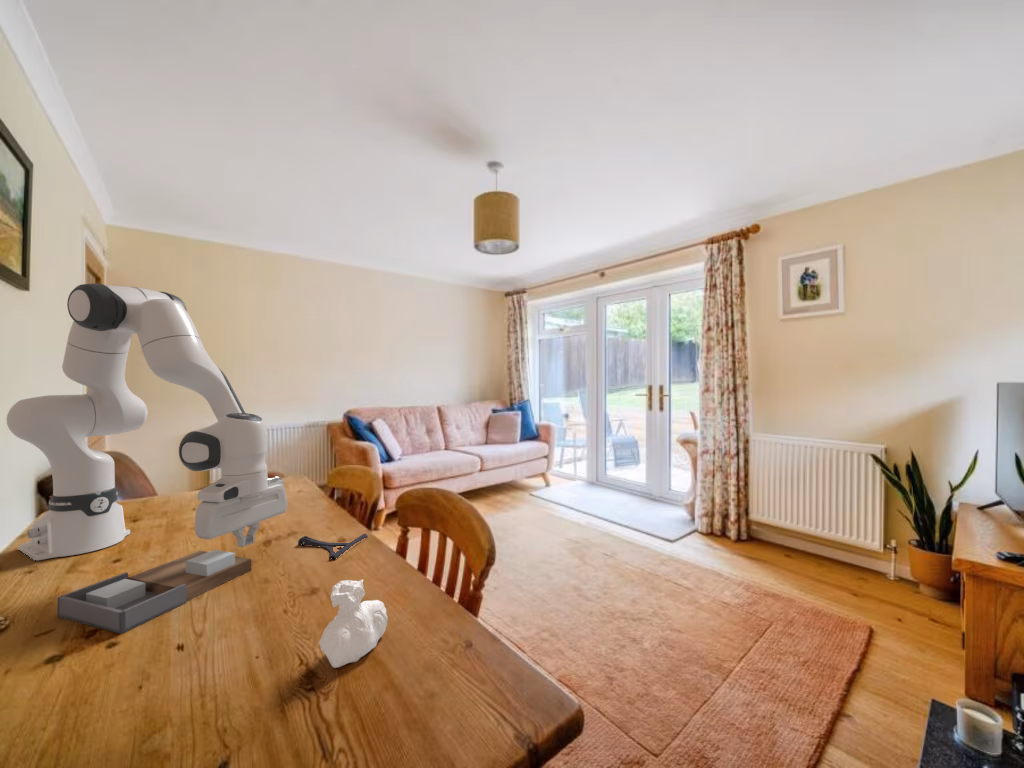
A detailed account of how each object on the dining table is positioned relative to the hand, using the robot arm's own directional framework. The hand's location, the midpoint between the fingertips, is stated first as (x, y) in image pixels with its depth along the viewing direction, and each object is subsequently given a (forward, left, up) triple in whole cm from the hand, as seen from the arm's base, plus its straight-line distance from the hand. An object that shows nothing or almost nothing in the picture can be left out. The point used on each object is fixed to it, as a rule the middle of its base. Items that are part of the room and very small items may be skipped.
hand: (246, 544), depth 94 cm
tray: (-4, -21, -5) cm, 22 cm away
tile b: (0, -8, -2) cm, 8 cm away
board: (-4, -9, -5) cm, 11 cm away
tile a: (-8, -20, -4) cm, 22 cm away
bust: (+44, -18, -5) cm, 47 cm away
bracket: (+10, +14, -5) cm, 18 cm away
